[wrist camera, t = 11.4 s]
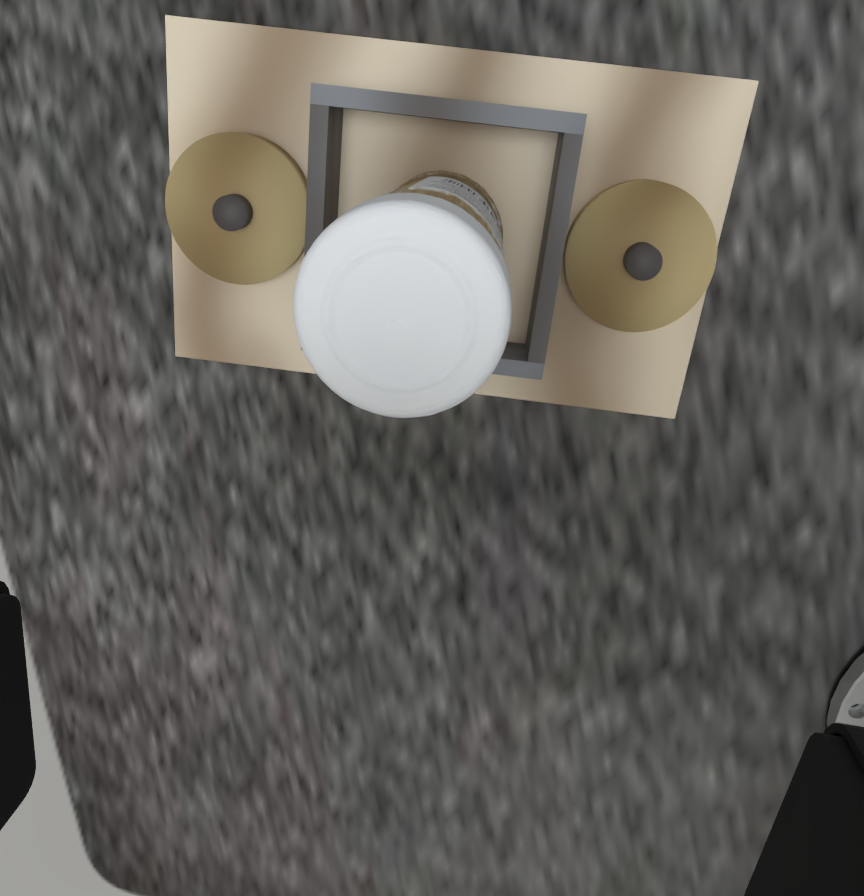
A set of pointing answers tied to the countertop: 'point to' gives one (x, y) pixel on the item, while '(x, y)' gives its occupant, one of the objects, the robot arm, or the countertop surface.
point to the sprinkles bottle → (407, 297)
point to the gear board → (463, 152)
